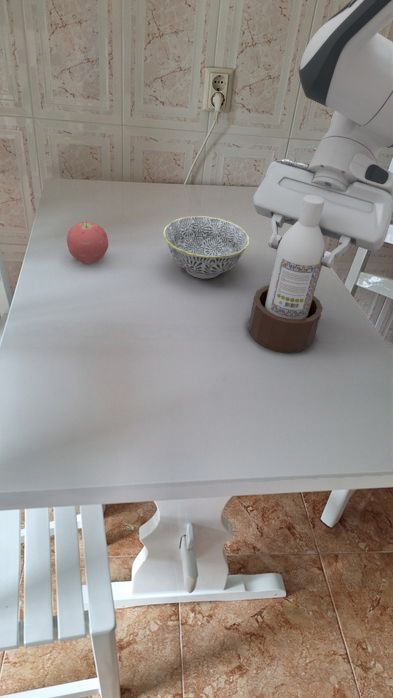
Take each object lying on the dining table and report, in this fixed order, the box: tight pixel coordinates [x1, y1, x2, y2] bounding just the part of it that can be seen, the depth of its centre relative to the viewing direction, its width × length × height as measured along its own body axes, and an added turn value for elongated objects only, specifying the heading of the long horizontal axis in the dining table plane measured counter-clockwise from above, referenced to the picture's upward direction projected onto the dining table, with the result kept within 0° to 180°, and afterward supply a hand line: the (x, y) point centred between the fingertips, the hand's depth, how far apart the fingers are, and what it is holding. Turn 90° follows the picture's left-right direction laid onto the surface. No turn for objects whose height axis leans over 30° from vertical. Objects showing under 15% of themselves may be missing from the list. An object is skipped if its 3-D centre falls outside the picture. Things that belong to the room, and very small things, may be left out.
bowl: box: [163, 215, 250, 280], centre depth 92 cm, size 16×16×8 cm
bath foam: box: [265, 195, 326, 320], centre depth 73 cm, size 7×7×20 cm
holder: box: [248, 285, 324, 354], centre depth 79 cm, size 11×11×6 cm
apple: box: [66, 220, 109, 265], centre depth 91 cm, size 7×7×8 cm
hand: (299, 256), depth 72 cm, fingers closed on bath foam, 7 cm apart
